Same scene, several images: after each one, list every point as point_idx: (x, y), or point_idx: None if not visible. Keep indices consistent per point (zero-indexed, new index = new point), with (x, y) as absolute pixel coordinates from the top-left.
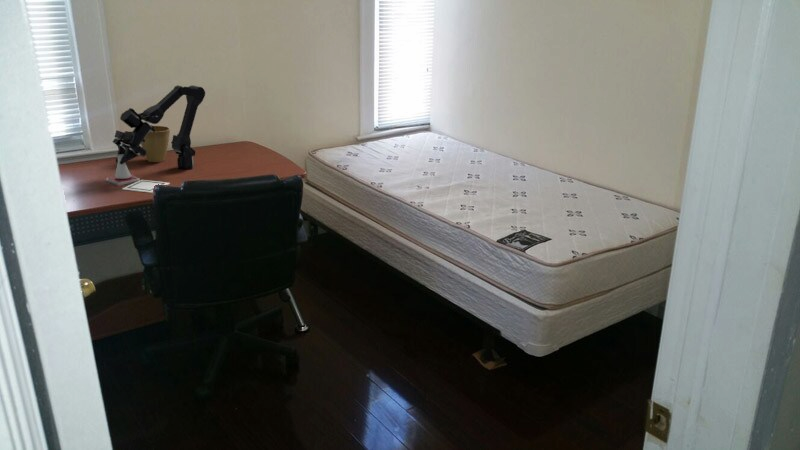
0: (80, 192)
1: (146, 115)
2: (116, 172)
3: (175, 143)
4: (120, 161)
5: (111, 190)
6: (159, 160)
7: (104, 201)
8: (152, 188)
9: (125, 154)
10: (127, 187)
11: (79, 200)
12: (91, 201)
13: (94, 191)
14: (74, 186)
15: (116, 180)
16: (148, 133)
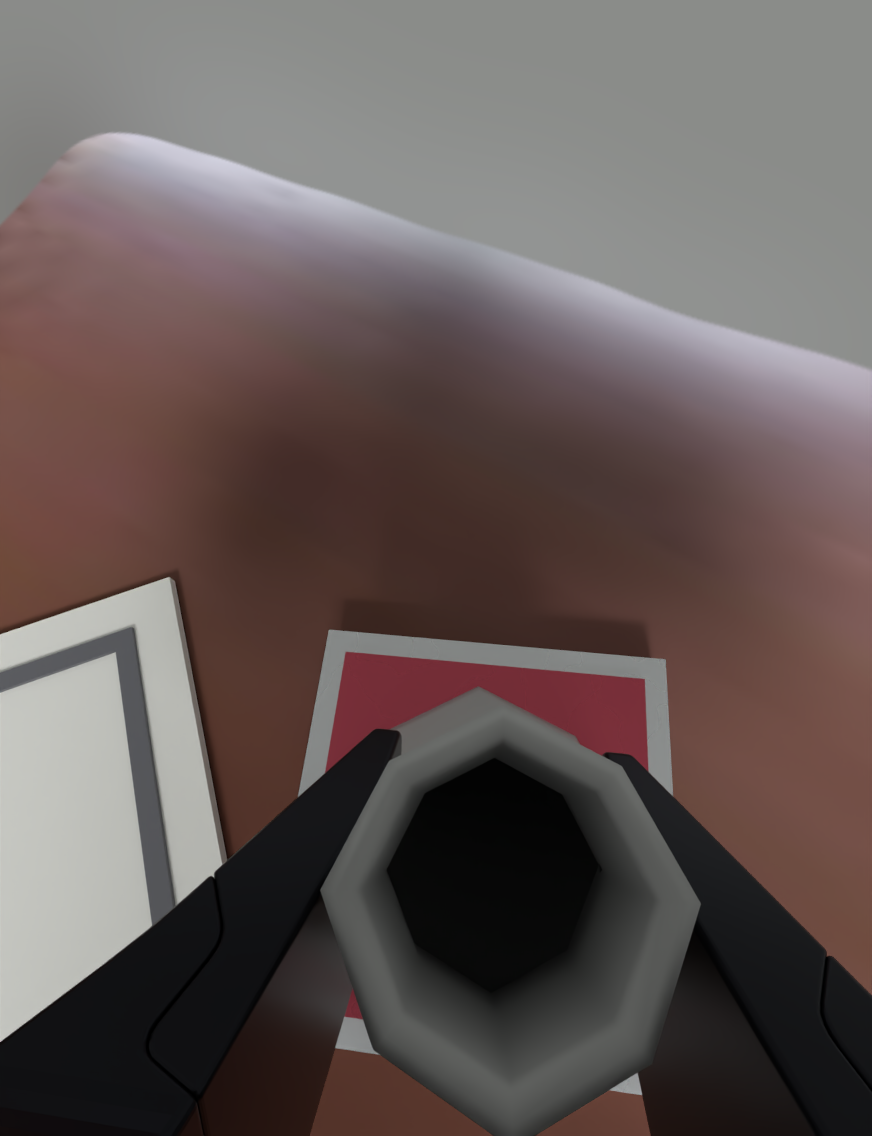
0: (442, 297)
1: None
2: (479, 703)
3: None
4: (365, 748)
5: (252, 492)
6: None
7: (54, 301)
8: None
9: (118, 974)
10: (130, 635)
11: (254, 212)
12: (151, 248)
13: (367, 379)
14: (673, 344)
15: (417, 667)
16: None
